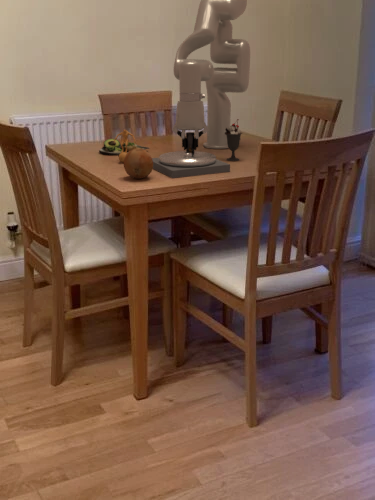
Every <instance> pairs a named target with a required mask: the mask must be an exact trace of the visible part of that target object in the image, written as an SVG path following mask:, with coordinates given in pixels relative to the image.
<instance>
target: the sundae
mask: <svg viewBox="0 0 375 500" xmlns="http://www.w3.org/2000/svg"><path fill="white" fill-rule="evenodd" d="M239 120H240V119H238V118H237V119H236V121H234V123H232V124H230V127H229V128H228V129H227V128H226V129H225V130H226V132H225V135H226V136H227V144H228V148H227V149H229V150H230V151H231V155H230V157H228V158H225V159H226V161H228V162H238V161H240V158H238V157H236V155H235V153H236V152H235V151H236V150H237V149H239V147H240V141H241V139H240V138H241V135H242V134H243V132H242V131H241V130H242V129H241V128H239V127H240V126H239V124H238V121H239Z"/></svg>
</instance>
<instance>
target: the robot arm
mask: <svg viewBox="0 0 375 500" xmlns="http://www.w3.org/2000/svg"><path fill="white" fill-rule="evenodd" d="M247 5H248V0H200V1H199V5H198V9H197V13H196V14H197V15H196V18H195V19H196V20H195V23H194V27H193V28H194V29H193V32H191V34H190V35H188V36H187V37H186V38H185V39H184V40H183V41H182V43H181V44H180V45H179V46H178V48H177V50H176V54H175V58H174V61H173V75H174V78H176V80H178V82H179V84H178V85H179V100H177V103H176V114H175V123H174V125H173V126H172V128H171V131H172V132H174V133H175V134H177V135H178V136H179V137H180V138H181V147H182V148H183V151H186V131H194V151H197V148H199V139H200V138H201V136H202V135H203V134H205V133H206V141H205V142H204V143H203V144H202V145H203V147H204V148H207V149H213V150H214V149H215V150H222V149H229V148H228V144H227V136H226V135H225V132H226V130H225V129H226V128H227V129H228V128H229V127H230V126H231V117H232V116H231V115H232V114H231V111H232V110H231V106H232V105H231V100H230V98H229V96H228V95H227V93H233V94H234V93H237V94H238V93H239V94H240V93H245V92H246V91H247V90H248V88H249V84H250V70H251V69H250V65H251V47H250V44H249V42H248V41H247V40H246V39H244V38H243V39H242V38H240V39H239V38H233V24H232V22H231V21H235V20H237V19H238V18H240V17H241V16H242V15H243V14H244V12H245V11H246V9H247ZM208 45H210V46H209V51H210V52H209V55H210V60H207V59H198V58H197V59H195V58H189V59H188V57H189V56H190V55H191V54H192V53H193V52H195V51H197V50H198V49H201V48H203V47H206V46H208ZM213 64H218V65H235V66H237V67H224V66H223V67H222V66H221V67H214V65H213ZM202 82H205V87H206V94H205V93H202V89H201V87H202V86H201V85H202ZM205 98H207V106H206V107H207V109H206V111H207V112H206V113H207V116H206V119H207V121H206V122H205V120H206V119H205V106H204V105H205V104H204V101H203V99H205ZM206 123H207V124H206ZM240 140H241V137H240Z"/></svg>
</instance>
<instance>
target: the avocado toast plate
mask: <svg viewBox="0 0 375 500" xmlns="http://www.w3.org/2000/svg"><path fill="white" fill-rule="evenodd" d="M114 140H115V138H109V139H108V138H107V139H106V140H105V141H104V142H103V146H102V147H101V148H100V149H99V150H98V152H99V153H100V154H101V155H104V156H119V154H120V153H121V152H122V147H121V142H120V141H119V140H118V139H116V140H115V142H114ZM137 144H138V143H136V144H135V143H134V142H131V141H129V142H128V145H127V147H128V148H127V153H128V152H129V151H130V150H133V149H137V148H141V149H144V150H145V151H146V150H150V147H148V146H142V145H137ZM122 146H123V148H124V149H123V152H125V151H126V144H125V142H124V144H123V145H122Z"/></svg>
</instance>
